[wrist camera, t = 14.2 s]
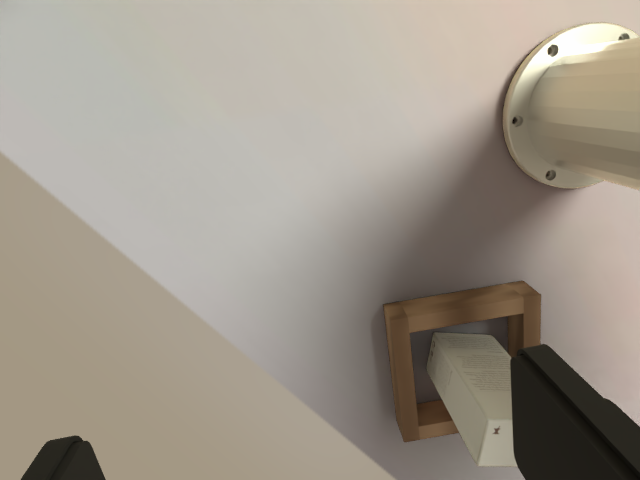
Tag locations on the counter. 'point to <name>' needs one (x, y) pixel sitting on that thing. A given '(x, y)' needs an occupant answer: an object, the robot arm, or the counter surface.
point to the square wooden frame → (443, 312)
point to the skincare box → (476, 393)
